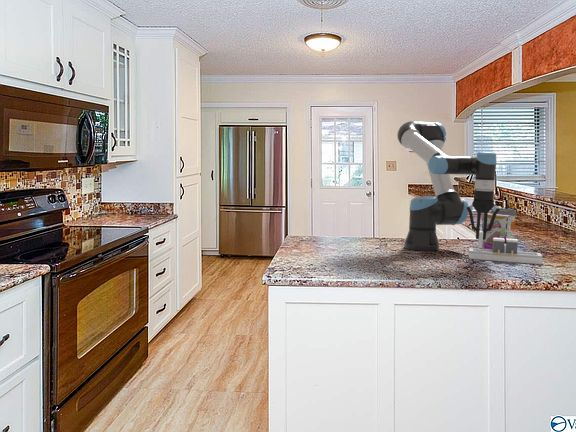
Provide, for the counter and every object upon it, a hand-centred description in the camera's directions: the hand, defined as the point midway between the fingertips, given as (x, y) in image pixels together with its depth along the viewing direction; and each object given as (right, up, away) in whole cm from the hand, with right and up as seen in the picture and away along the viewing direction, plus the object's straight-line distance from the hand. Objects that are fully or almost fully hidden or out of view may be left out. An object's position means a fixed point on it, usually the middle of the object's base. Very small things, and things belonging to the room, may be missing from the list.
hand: (480, 247), depth 208 cm
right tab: (+11, -3, -4) cm, 12 cm away
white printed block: (+32, +1, +56) cm, 64 cm away
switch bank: (+9, -5, -3) cm, 10 cm away
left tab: (+6, -2, -2) cm, 7 cm away
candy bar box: (+12, -3, +16) cm, 20 cm away
